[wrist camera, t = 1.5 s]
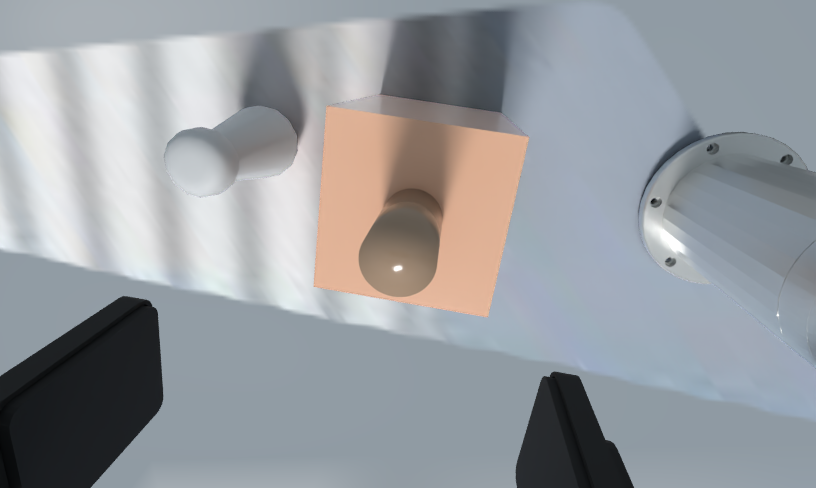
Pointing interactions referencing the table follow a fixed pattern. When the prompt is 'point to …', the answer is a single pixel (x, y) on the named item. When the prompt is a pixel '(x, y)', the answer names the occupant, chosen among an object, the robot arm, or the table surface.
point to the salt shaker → (231, 151)
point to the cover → (416, 201)
